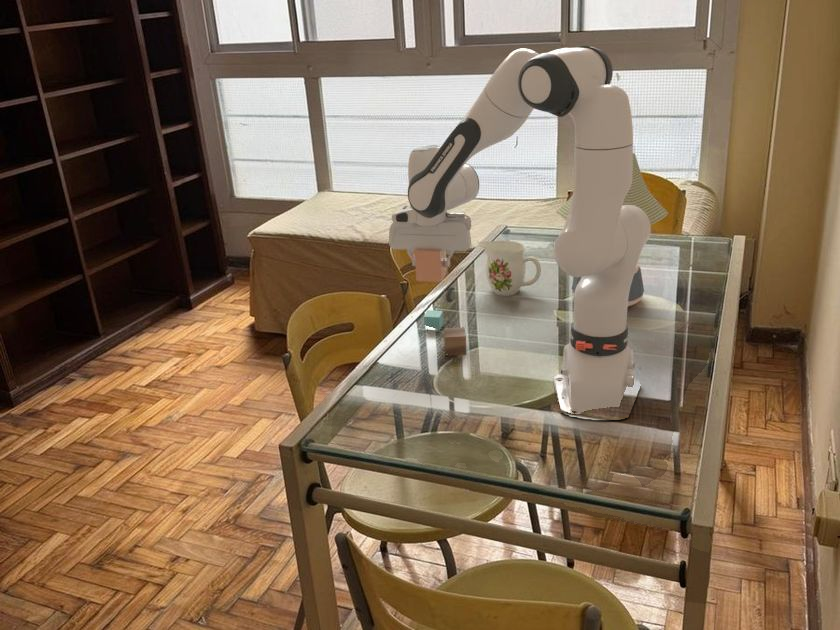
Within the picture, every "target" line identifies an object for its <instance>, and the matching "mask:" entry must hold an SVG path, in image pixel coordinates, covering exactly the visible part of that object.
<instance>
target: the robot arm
mask: <svg viewBox="0 0 840 630" xmlns="http://www.w3.org/2000/svg"><path fill="white" fill-rule="evenodd" d="M613 73H614V72H613V65H612V61H611V59H610V57H609V56H608V54H606V52H604V51H603V50H602V49H600V48H597V47H594V46H589V45H581V46H577V47H562V48H557V49H554V50H551V51H548V52H542V53H538V52H537V51H535V50H533V49H530V48H525V47H524V48H518V49H517V48H516V49H515V50H512V52H510V53H509V54H508V55H507V57H505V58H504V60H503V61H502V62H501V63H500V64H499V66H498V67H497V68H496V69H495V71H494V72H493V74H492V75H491V77H490V78H489V80H488V81H487V83H486V84H485V86H484V88H483V90H482V91H481V93H480V94H479V96H478V97H477V99H476V101H475V102H474V103H473V105H472V106H471V108H470V109H469V110H468V112H467V113H466V114H464V117H462V119H461V121H460V122H459V123H458V124H457V125H456V127H455V128H454V129H453V130H452V131H451V133H450V134H449V135H448V137H446V139H445V140H444V142H443V143H442V145H441V146H440V145H438V144H432V145H426V146H420V147H417V148H415V149H412V151H411V152H410V154H409V158H408V165H407V166H408V167H407V168H408V169H407V173H408V174H407V176H408V177H407V178H408V186H407V199H408V203H407V204H404V205H401V206H400V207H397V208H396V209H395V210H394V211H393V213H392V215H391V221H392V223H391V224H390V226H389V232H388V243H389V247H391V249H393V250H406V253H407V256H408V257H409V258H410V259H411V265H412V267H416V266H415V250H416V249H440V250H442V251H446V256H447V257H446V258H444V260H443V267H447V268H450V266H451V258H452V257H453V255H454V253H455V252H467V251H469V249H470V248H471V246H472V238H471V231H470V230H471V229H472V219H471V217H470V216H468V215H467V214H465V213H464V212H460V213H457V212H456V213H455V212H448V211H450V210H452V209H455V208H458V207H459V206H463V205H465V204H467V203H469V202H471V201H472V200H474V199H476V197H477V196H478V194H479V190H480V179H479V176H478V173H477V172H476V170H475V169H474V167H473V166H471V165H470V164H469V163H467V162H468V161H469V160H470V159H471V158H473V157H474V156H475V155H477V154H479V153H480V152H482V151H484V150H485V149H487V148H489V147H491V146H494V145H496V144H498V143H500V142H502V141H505V140H507V139H509V138H510V137H512V136H513V135H514V134H516V132H517V131H518V130H519V129H520V128H521V127H523V126H524V124H525V123H526V121H527V120H528V118H529V117H530V115H531V113H532V112H533V110H534V109H535V110H537V111H540V112H545V113H549V114H550V115H553V116H556V117H558V118H562V117H565V116H567V115H568V116H570V118H571V120H572V122H573V125H574V182H573V183H574V184H573V189H572V190H573V191H572V195H571V196H572V200H571V204H570V208H569V212H568V215H567V219H566V220H565V222H564V225H563V228H562V230H561V231H560V233H559V235H558V237H557V238H556V240H555V241H554V246H553V255H554V259H555V262H556V264H557V266H558V267H559V268H560V270H561V271H562V272H564V273H565V274H567V276H570V277H573V278H574V277H582V278H581V280H580V281H579V283H578V285H577V286H576V289H575V292H574V296H573V313H572V314H573V317H572V319H573V320H572V323H570V324H571V326H570V331H569V335H570V336H569V337H570V339H569V341H570V342H569V343H567V344H566V345H565V346H564V347H563V358H562V359H563V360H562V368H561V370H560V373H559V374H555V375H553V380H552V382H553V386H554V391H555V390H556V392H555V394H556V393H557V396H556V399H557V398H558V400H557V403H558V402H559V405H560V409H561V410H562V411H564V412H568V413H571V414H574V413H573V412H572V411H576V412H577V413H575V414H580V413H581V412H584V411H587V410H592V409H599V408H601V409H602V408H607V407H608V408H609V407H619V406H620V403H621V400H622V398H623V395H624V392H625V390H626V387H627V386H628V387H633V385H634V379H635V375H634V374H633V373H634V372H633V371H634V369H635V363H636V362H634V350H633V349H632V348H631V347H630V346H629V345H628V341H629V339H628V338H629V326H628V325H627V317H628V307H629V306H628V297H629V291H630V287H631V283H632V280H633V276H634V273H635V270H636V266H637V263H638V262H639V259H640V256H641V253H642V251H643V248H645V247H644V246H645V245H646V243H647V242H648V241H649V238H650V236H651V232H652V227H651V226H652V225H650V221H649V218H648V216H647V215H646V213H645V212H644V211H643V210H642V209H640V208H639V207H637V206H634V205H623V202H624V199H625V196H626V194H627V192H628V191H629V189H630V187H631V184H632V173H633V153H634V130H633V127H634V126H633V117H632V110H631V105H630V99H629V96H628V94H627V92H626V91H625V90H624V89H623V88H621V87H619V86H616V85H613V84H611V82H612V80H613ZM559 405H558V406H559ZM560 409H559V410H560Z"/></svg>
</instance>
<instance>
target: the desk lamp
mask: <svg viewBox="0 0 840 630" xmlns="http://www.w3.org/2000/svg"><path fill="white" fill-rule="evenodd" d="M571 200H572V195H571V196H570V197H569V198H568V199H567V200H566V201H565V202H564V204H563V205H562V206H561V207H559V209H557V211H556V212H555V213H556V214H557V215H558V216H560V217H561V218H562V219H564V220H565V221H566V219H567V215H568V212H569V208H570V204H571ZM623 205H634V206H637V207H639V208H640V209H642V210H643V211H644V212H645V213H646V215H647V216H648V218H649V221H650V225H651V226H652V225H654V224H656V223H658V222H659V221H661V220H663V219H664V218H665V217H667V216H668V214H669V212H668V211H667V210H666V209H665V208H664V207H663V205H661V204H660V203H659V201H658V200H657V199H656V197H655V196H654V195H653V194H652V193H651V191H650V190H649V188H648V186H647V184H646V182H645V180H644V178H643V175H642V172H641V169H640V166H639V162H638V160H637V156H636V153H634V152H633V173H632V184H631V187H630V189H629V191H628V192H627V194H626V196H625V199H624V202H623ZM581 278H582V277H573V281H572V286H571V290H572V292H571V293H572V296H573V297H574V292H575V289H576V286H577V285H578V283H579V281H580V280H581ZM644 292H645V289H644V282H643V275H642V269H641V266H640V265H639V264H638V263H637V266H636V270H635V273H634V276H633V280H632V283H631V287H630V291H629V297H628V307H631V306H633V305H635V304H637V303H638V302H640V301H642V300H643V297H644Z"/></svg>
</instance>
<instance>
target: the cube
mask: <svg viewBox="0 0 840 630" xmlns="http://www.w3.org/2000/svg"><path fill="white" fill-rule="evenodd" d="M443 313H444V312H443V310H429V309H428V310H427V309H426V312H425V314H424V316H423V321H424V322H423V323H424V325H426V326H429V327H433V328H436V329H438V330H440V329H441V330H442V328H443V326H444V316H443ZM424 325H423V326H424ZM442 325H443V326H442ZM441 327H442V328H441ZM441 330H440V331H441Z"/></svg>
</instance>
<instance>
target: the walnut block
mask: <svg viewBox="0 0 840 630" xmlns="http://www.w3.org/2000/svg"><path fill="white" fill-rule="evenodd" d="M443 338H444V339H443V340H444V343H443V345H444V353H445V354H448V355H450V356H462V355H463V356H464V355H467V335H466V329H465V327H464V326H463V327H462V326H461V327H445V328H443Z"/></svg>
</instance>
